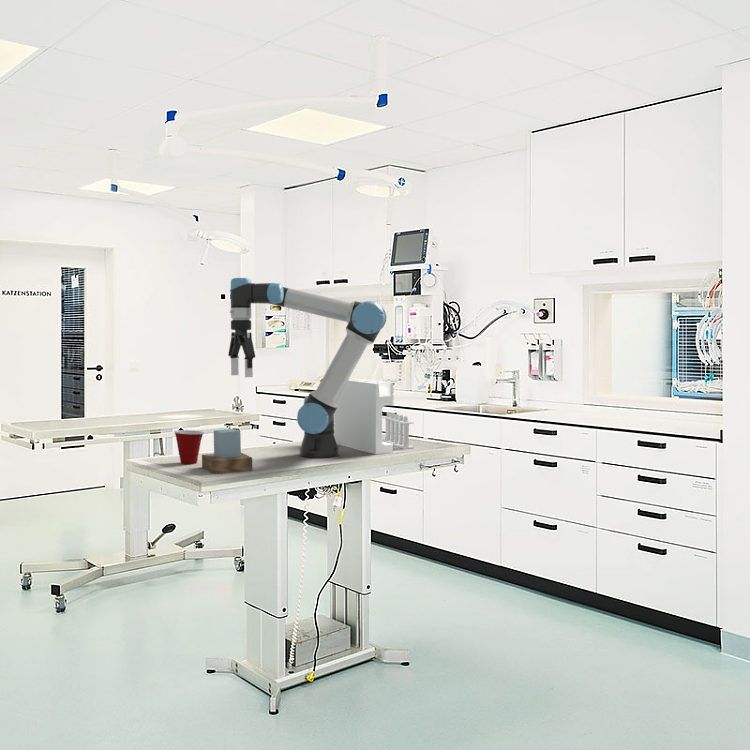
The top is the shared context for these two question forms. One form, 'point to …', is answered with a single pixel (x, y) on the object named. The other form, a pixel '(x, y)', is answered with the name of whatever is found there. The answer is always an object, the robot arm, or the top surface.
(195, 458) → the plastic cup
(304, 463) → the top surface
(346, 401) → the block
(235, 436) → the slate block
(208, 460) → the walnut block
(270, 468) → the top surface
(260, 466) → the top surface
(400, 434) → the test tube rack
